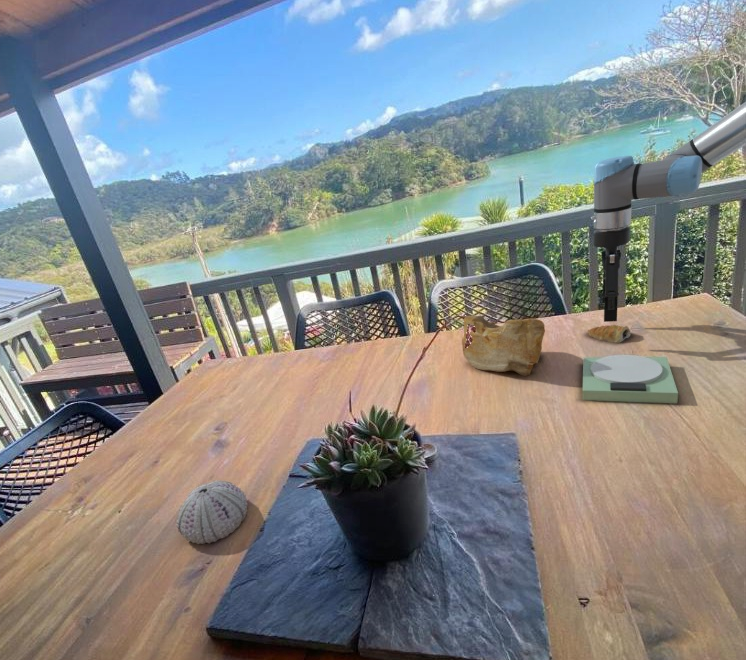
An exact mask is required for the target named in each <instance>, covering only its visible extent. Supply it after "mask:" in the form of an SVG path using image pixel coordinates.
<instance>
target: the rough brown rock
mask: <svg viewBox="0 0 746 660" xmlns="http://www.w3.org/2000/svg"><path fill="white" fill-rule="evenodd" d="M467 324H471V325H474V326H475V328H476V332H475V333H473V332H472V331H471V332H470V335H471V336H472V338H473V341H472V343H471V344H470V345H469V347H468V348H465V347H464V345H465V342H466V332H467V329H468V328H467ZM545 327H546V326H545V323H544V322H543V321H542V320H540V319H538V318H533V317H532V318H524V319H519V318H517V319H516V318H515V319H508V320H506V321H504V323H503V325H502V326H501V325H498V324H496V323H494V322H491V321H488V320H487V319H486V318H484V317H483V316H482V315H473V314H471V315H467V316H465V317H464V318H463V336H462V338H461V347H462V353H463V356H464V358H465V359H466V361H467V362H468V364H469V365H471V366H472V367H473V368H475V369H477V370H480V371H492V372H498V373H502V372H504V373H505V372H508V371H511V372H515V373H516V374H518V375H520V376H525V377H527V376H530V375H531V372H532V370H533V369H534V365H535V364H538V363H539V360H540V358H541V353H542V349H543V346H542V345H543V340H544V336H545V333H546V329H545Z"/></svg>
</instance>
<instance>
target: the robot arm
mask: <svg viewBox="0 0 746 660" xmlns="http://www.w3.org/2000/svg"><path fill="white" fill-rule="evenodd" d="M743 147H746V101H745V102H743V103H742V104H740V105H739V106H737V107H736V108H734V109H733V110H732V111H731V112H729V113H728V114H726V115H725V116H723V117H722V118H721V119H719V120H718V121H716V122H714V123H713V124H712V125H710V126H708V127H707V128H706V129H705V130H703V131H702V132H700V133H699V134H697V135H696V136H695V137H693V138H692V139H690V140H689V141H688V142H685V143H684V144H683V145H681V146H680V147H678V148H677V149H675V150H674V151H672V152H671V153H670V154H668V155H667V156H665V157H664V158H663V159H661V160H655V161H649V162H643V163H635V161H634V157H633V156H632V155H623V156H616V157H611V158H605V159H603V160H600V161H599V162H597V164H596V165H595V167H594V176H593V177H594V178H593V183H592V184H593V215H592V216H590V220H591V221H593V229H595V230H594V231H593V233H592V235H593V236H592V237H593V238H592V241H593V242H592V243H593V246H594V247H596V248H599V249H600V248H603V250H602V251H601V252H600V253H601V256H600V257H601V263H602V277H603V278H602V293H601V298H602V303H603V305H604V306H603V322H604V323H607V322H611V323H612V322H618V304H619V303H618V302H619V301H618V299H619V270H620V265H621V257H622V252H621V249H618V248H619V247H620V246H624V245H625V246H626V245H627V244H628V243H630V241H631V227H630V225H631V223H632V202H633V201H636V200H645V199H646V200H647V199H655V198H664V197H665V198H666V197H679V196H683V195H689V194H693V193H695V192H697V191H698V189H699V188H700V185H701V180H702V173H704V172H705V171H707V170H708V169H710V168H711V167H713V166H715V165H716V164H718V163H719V162H721V161H723V160H724V159H726V158H727V157H729V156H731V155H732V154H733V153H734V154H735V152H737V151H739V150H740V149H741V148H743Z"/></svg>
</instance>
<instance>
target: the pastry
mask: <svg viewBox="0 0 746 660" xmlns="http://www.w3.org/2000/svg"><path fill="white" fill-rule="evenodd" d="M630 329H631V328H629V326H627V325H626V326H622V325H619V324H618V325H617V324H610V325H601V326H595V327H592V328H590V329H589V330H588V331H587V333H588V335H589V337H591V338H593V339H596V340H598V341H604V342H609V343H616V344H621V343H622V342H623V341H624V340H626V339H629V338H630V337H631V334H632V333H631V330H630Z"/></svg>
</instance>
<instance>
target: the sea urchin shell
mask: <svg viewBox="0 0 746 660" xmlns="http://www.w3.org/2000/svg"><path fill="white" fill-rule="evenodd" d="M246 496H247V494H245V491H243V490H241V487H238V486H236V484H235V483H234V484H233V482H230V481H226V480H214V481H212V482H209V483H205V484H200V485H199V486H197V487H195V488H194V489H193V490H192V491H190V492H189V493H188V495H187V497H186V499H185V500H184V502H182V505H181V506H180V509H179V510H178V511H179V512H178V514H177V520H176V522H175V523H176V528H177V532H179V534H180V535H181V536H182V537H183V538H185V539H186V541H190V542H191V543H192V544H197V545H200V544H201V545H205V544H206V543H207V544H209V545H210V544H211V543H215V542H217V541H219V540H221V539H225V538H226V537H229V535H230V534H232V533H234V532H235V530H237V528H239V526H241V523H242V522H243V521H244V520H245V518H246V515H247V513H248V510H247V509H248V502H247V501H248V499H247V497H246Z"/></svg>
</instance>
